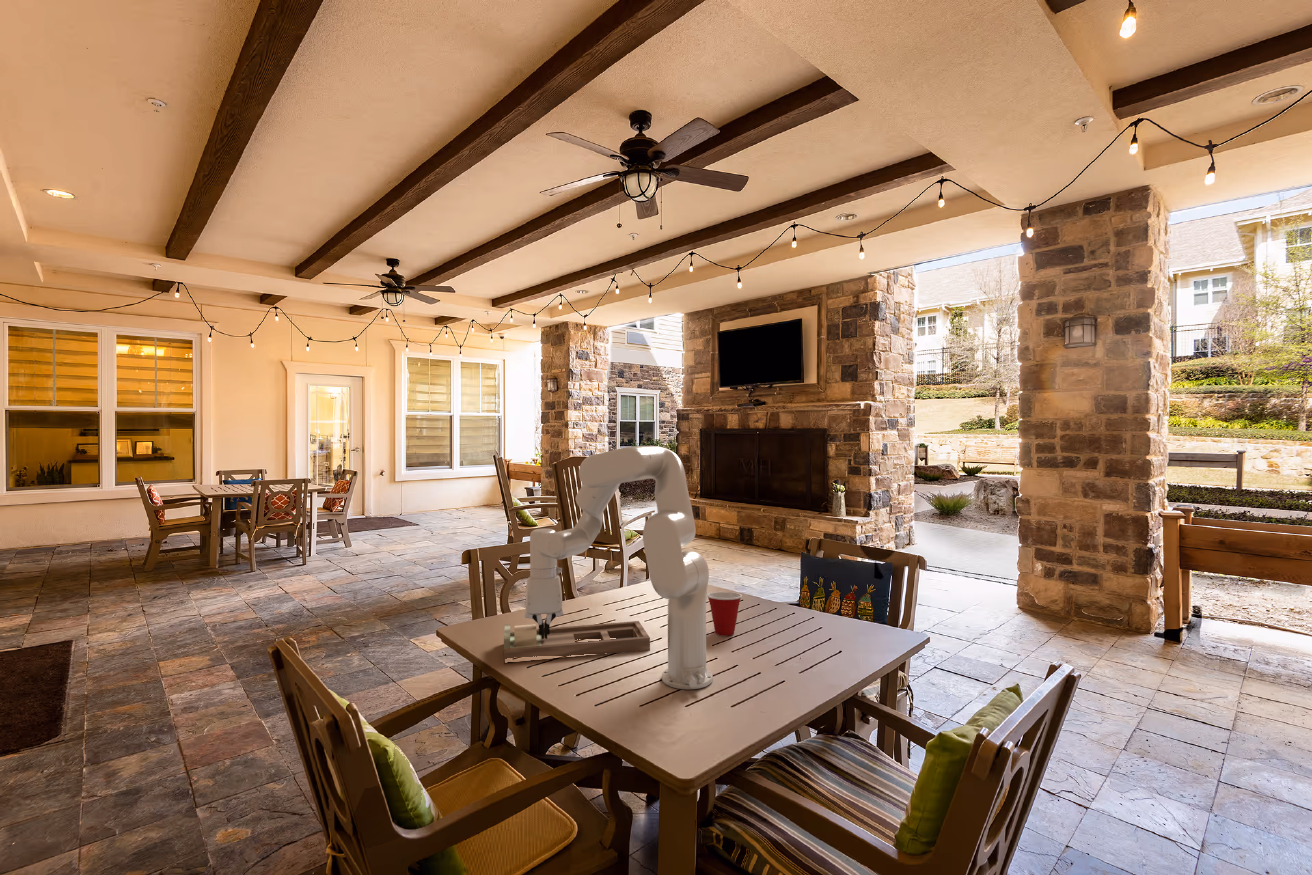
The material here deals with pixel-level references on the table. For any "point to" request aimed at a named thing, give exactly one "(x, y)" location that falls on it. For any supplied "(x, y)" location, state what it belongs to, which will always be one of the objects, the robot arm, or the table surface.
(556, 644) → the tray
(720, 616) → the plastic cup
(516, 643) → the maple block
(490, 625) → the table surface
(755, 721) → the table surface
